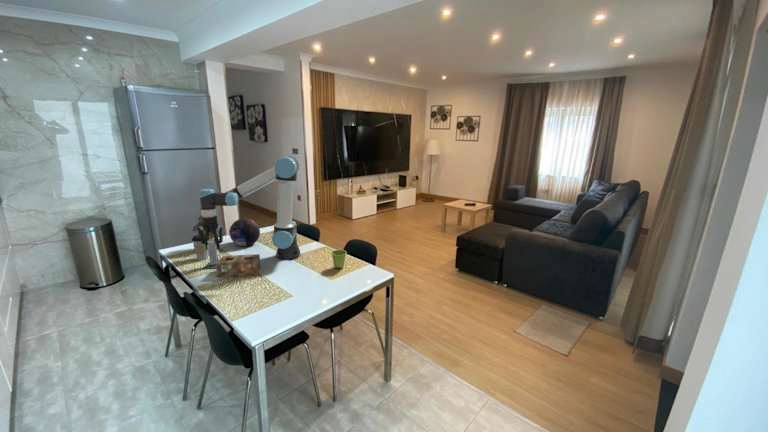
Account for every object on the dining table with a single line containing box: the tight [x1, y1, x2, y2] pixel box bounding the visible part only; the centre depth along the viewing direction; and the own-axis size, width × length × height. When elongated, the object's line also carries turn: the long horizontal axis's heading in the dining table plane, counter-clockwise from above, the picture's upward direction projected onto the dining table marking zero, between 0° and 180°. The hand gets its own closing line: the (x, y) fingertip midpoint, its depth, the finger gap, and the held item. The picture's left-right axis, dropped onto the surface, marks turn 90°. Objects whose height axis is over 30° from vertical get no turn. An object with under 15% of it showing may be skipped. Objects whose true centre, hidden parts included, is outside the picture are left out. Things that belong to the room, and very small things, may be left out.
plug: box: [207, 237, 219, 266], centre depth 179 cm, size 4×4×16 cm
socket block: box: [215, 253, 262, 278], centre depth 172 cm, size 20×12×8 cm, turn 101°
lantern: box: [192, 214, 220, 255], centre depth 204 cm, size 14×14×30 cm
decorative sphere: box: [228, 217, 261, 247], centre depth 216 cm, size 19×20×20 cm
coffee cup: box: [191, 234, 209, 262], centre depth 190 cm, size 9×9×15 cm
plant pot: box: [330, 249, 348, 268], centre depth 184 cm, size 9×9×9 cm
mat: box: [202, 261, 217, 270], centre depth 181 cm, size 10×10×1 cm
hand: (213, 254), depth 180 cm, fingers closed on plug, 3 cm apart
